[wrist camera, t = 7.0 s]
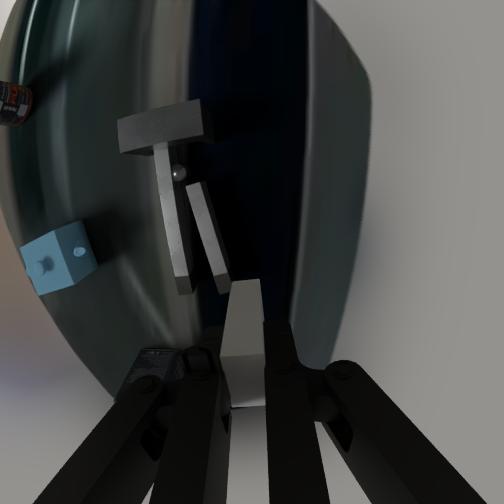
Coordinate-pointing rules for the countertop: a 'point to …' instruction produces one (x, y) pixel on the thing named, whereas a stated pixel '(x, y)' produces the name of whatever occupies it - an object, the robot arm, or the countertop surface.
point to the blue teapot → (59, 258)
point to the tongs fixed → (176, 217)
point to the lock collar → (165, 128)
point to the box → (153, 367)
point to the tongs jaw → (211, 236)
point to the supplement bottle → (14, 103)
